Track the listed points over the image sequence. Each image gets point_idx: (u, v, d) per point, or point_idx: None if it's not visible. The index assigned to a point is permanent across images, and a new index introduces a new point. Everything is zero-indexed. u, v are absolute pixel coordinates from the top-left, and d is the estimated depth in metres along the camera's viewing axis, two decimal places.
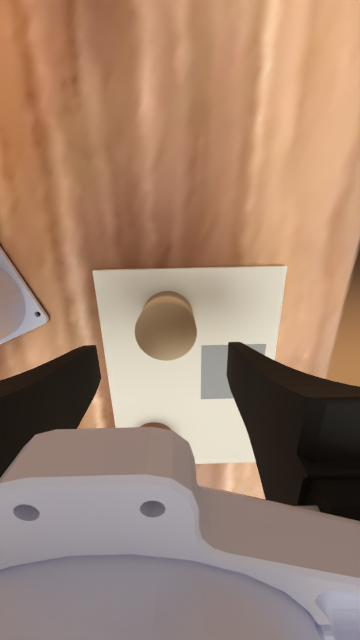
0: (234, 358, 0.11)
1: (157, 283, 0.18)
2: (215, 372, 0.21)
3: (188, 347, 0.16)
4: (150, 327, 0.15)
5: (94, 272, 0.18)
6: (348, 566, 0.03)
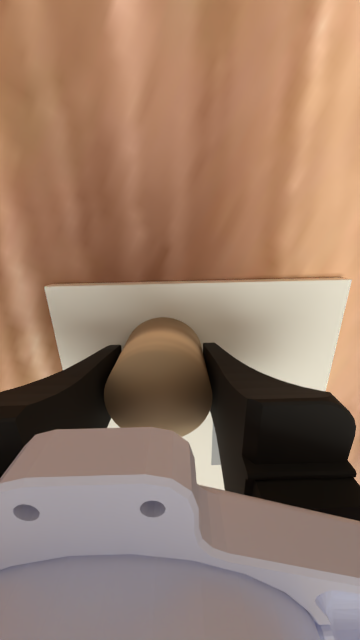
0: (206, 359, 0.11)
1: (147, 306, 0.12)
2: None
3: (197, 420, 0.09)
4: (132, 391, 0.09)
5: (47, 289, 0.11)
6: (348, 566, 0.03)
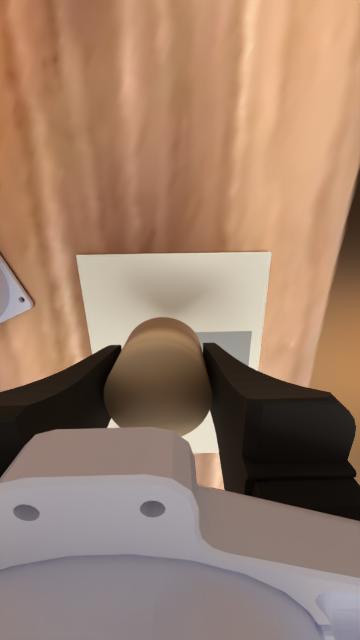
0: (206, 359, 0.11)
1: (141, 268, 0.18)
2: None
3: (197, 420, 0.09)
4: (131, 390, 0.09)
5: (78, 256, 0.18)
6: (348, 566, 0.03)
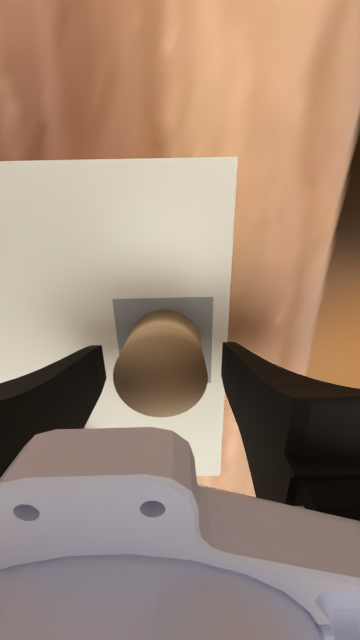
0: (228, 358, 0.11)
1: (24, 188, 0.11)
2: None
3: (194, 398, 0.11)
4: (137, 371, 0.10)
5: None
6: (348, 566, 0.03)
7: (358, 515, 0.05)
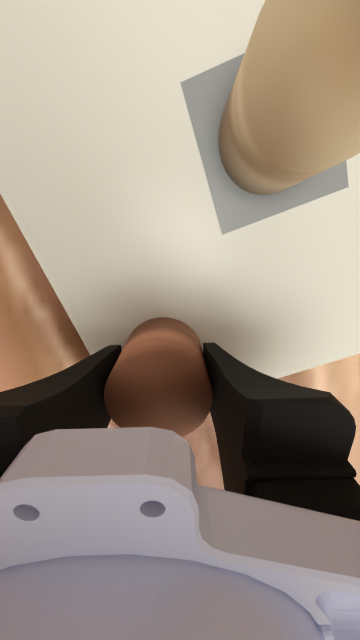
0: (206, 359, 0.11)
1: None
2: None
3: None
4: (289, 61, 0.06)
5: None
6: (348, 566, 0.03)
7: None
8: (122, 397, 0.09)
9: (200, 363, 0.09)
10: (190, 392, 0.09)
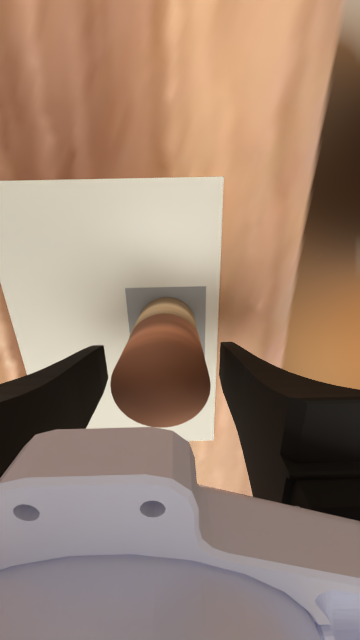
0: (226, 358, 0.11)
1: (58, 200, 0.14)
2: None
3: None
4: None
5: None
6: (348, 566, 0.03)
7: (353, 515, 0.05)
8: (127, 386, 0.10)
9: (199, 355, 0.10)
10: (190, 381, 0.10)
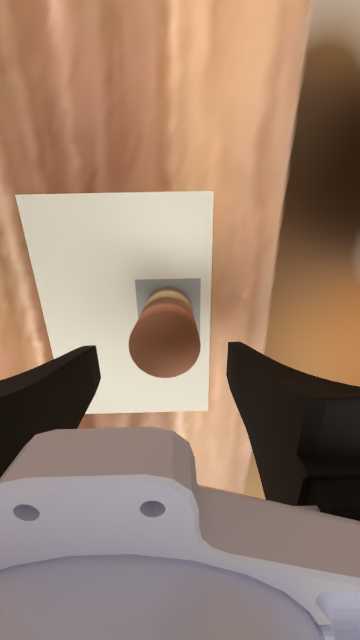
0: (234, 358, 0.11)
1: (83, 209, 0.18)
2: None
3: None
4: None
5: (17, 196, 0.18)
6: (348, 566, 0.03)
7: None
8: (140, 344, 0.13)
9: (193, 323, 0.14)
10: (186, 342, 0.13)
